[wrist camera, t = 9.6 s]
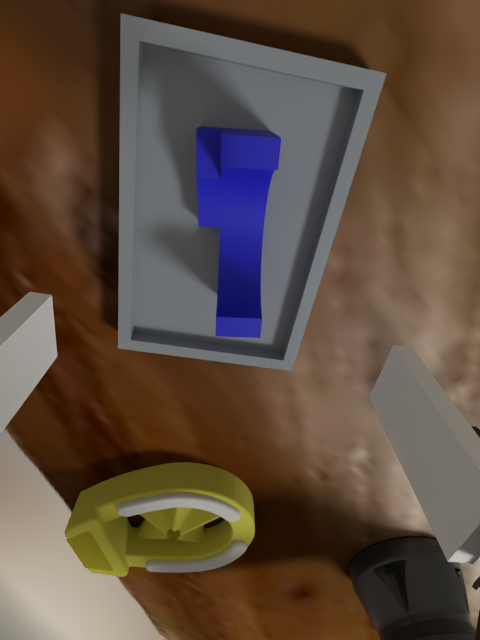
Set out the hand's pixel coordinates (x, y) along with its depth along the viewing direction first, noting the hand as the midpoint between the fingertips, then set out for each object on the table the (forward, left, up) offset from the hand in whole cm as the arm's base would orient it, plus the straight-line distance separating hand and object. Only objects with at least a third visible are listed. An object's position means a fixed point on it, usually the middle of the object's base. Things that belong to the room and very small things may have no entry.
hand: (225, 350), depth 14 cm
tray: (0, 0, -15) cm, 15 cm away
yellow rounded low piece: (-36, +2, -16) cm, 39 cm away
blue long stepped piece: (+1, 0, -15) cm, 15 cm away
